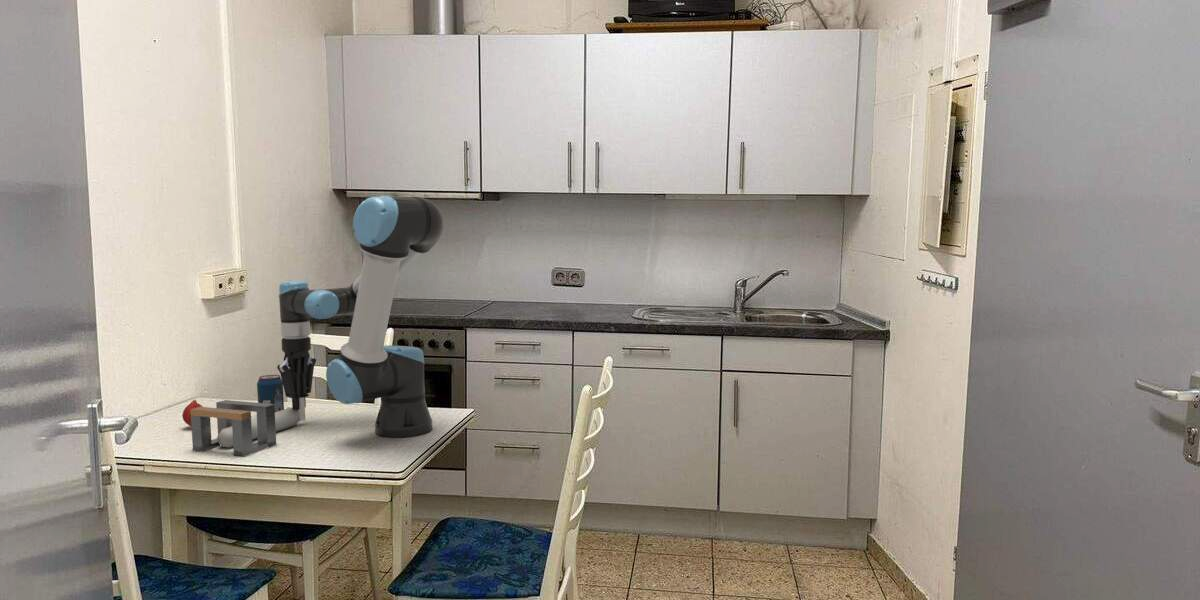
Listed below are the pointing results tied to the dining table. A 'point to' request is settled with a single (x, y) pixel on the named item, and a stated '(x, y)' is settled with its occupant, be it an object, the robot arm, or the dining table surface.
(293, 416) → the tube
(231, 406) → the gray frame
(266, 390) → the soda can
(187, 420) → the onion
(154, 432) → the dining table surface
